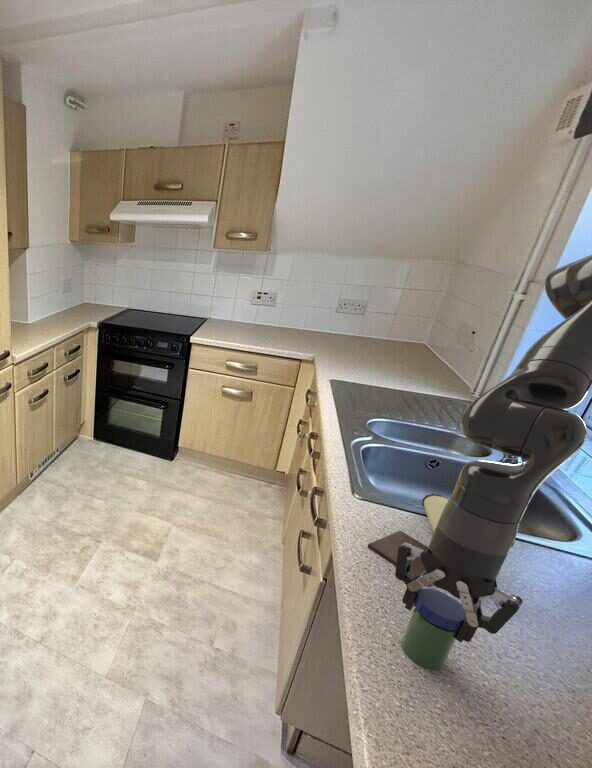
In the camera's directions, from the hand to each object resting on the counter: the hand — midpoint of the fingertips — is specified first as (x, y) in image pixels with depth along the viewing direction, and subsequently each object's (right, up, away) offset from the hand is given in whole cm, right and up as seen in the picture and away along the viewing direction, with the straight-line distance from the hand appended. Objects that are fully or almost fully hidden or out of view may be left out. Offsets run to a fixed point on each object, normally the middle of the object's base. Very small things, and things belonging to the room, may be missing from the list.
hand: (434, 621), depth 63 cm
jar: (0, -6, +2) cm, 7 cm away
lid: (0, +3, -1) cm, 3 cm away
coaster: (+14, +1, +22) cm, 26 cm away
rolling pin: (+24, +2, +26) cm, 35 cm away
